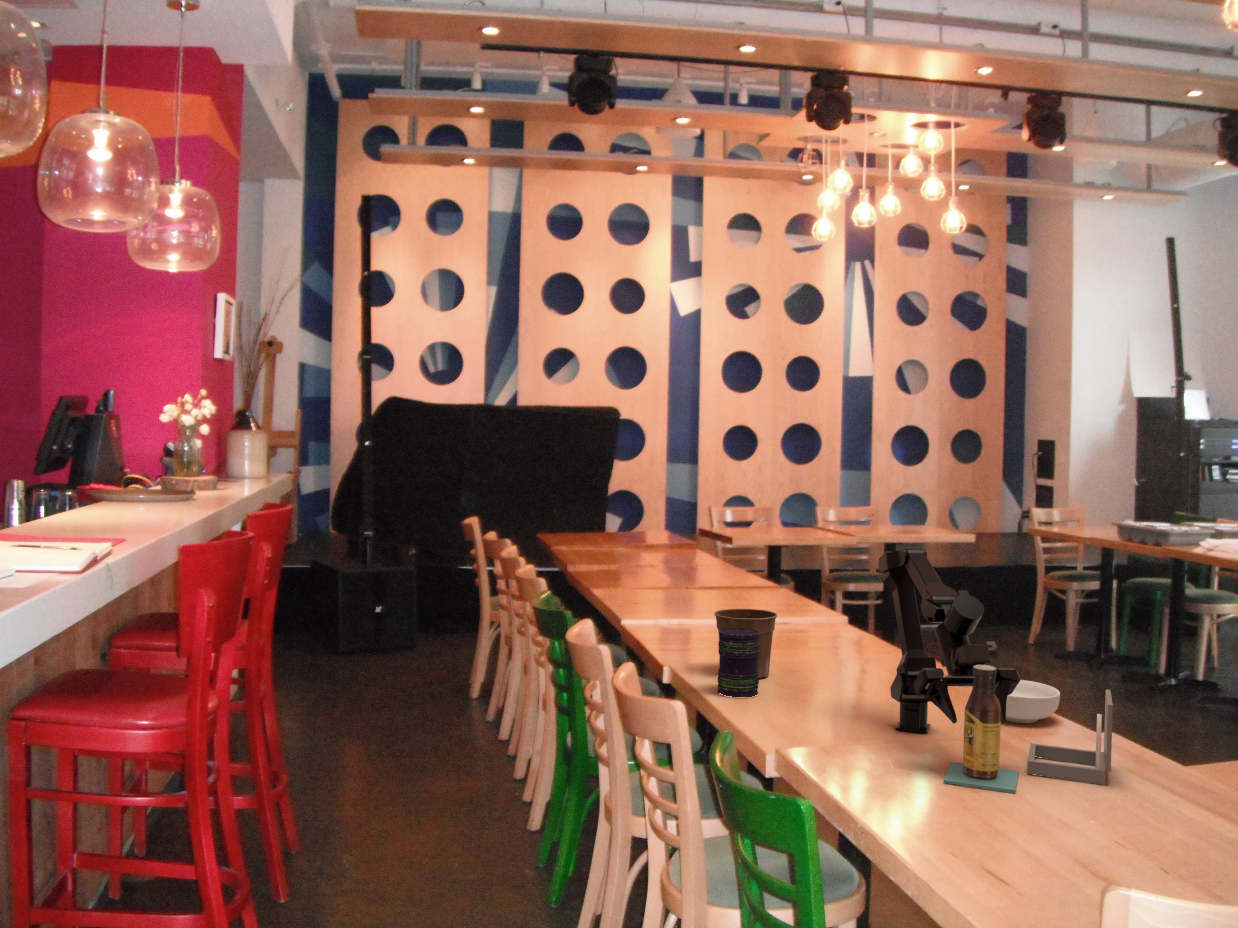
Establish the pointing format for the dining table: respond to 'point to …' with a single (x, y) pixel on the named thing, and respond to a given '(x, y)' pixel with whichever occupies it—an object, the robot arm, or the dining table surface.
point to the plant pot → (755, 621)
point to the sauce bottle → (982, 726)
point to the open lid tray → (1077, 755)
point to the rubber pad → (1002, 782)
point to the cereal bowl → (1031, 702)
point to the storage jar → (738, 662)
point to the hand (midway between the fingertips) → (979, 722)
